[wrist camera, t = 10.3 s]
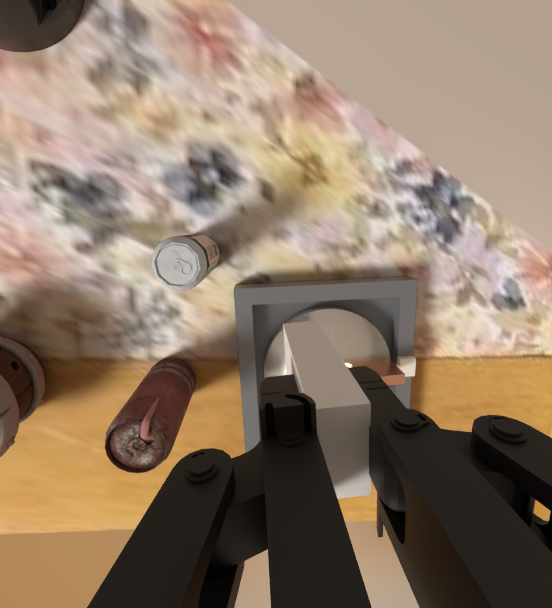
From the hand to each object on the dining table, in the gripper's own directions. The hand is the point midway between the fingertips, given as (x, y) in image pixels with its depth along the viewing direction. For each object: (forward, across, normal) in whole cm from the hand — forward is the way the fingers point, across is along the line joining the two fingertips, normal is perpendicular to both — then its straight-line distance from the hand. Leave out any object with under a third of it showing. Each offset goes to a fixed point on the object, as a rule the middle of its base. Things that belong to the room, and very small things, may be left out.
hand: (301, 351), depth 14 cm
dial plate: (+26, +6, -13) cm, 30 cm away
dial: (+25, +6, -13) cm, 29 cm away
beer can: (+27, -8, +2) cm, 29 cm away
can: (+27, -14, -14) cm, 33 cm away
